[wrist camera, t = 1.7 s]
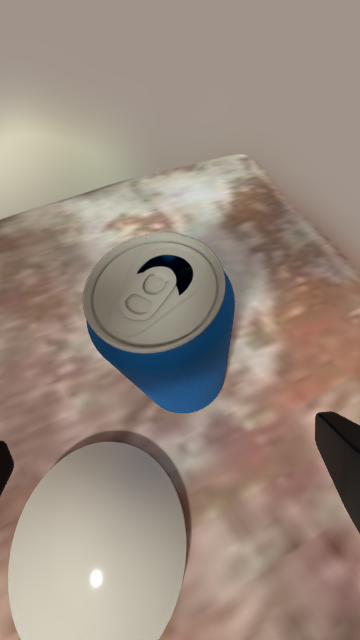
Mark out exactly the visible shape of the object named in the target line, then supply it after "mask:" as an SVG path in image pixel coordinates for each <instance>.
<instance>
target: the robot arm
mask: <svg viewBox="0 0 360 640" xmlns="http://www.w3.org/2000/svg"><path fill="white" fill-rule="evenodd" d="M315 441H316V445H317V447H318V450H319V452H320V454H321V456H322V458H323V461H324V463H325V465H326V467H327V469H328V472H329V474H330V476H331V478H332V480H333V482H334V485H335V487H336V489H337V491H338V493H339V496H340V498H341V500H342V502H343V504H344V506H345V508H346V510H347V512H348V514H349V516H350V517H351V519H352V521H353V523H354V525H355V526H356V528H357V530H358V532H359V533H360V425H358V424H356V423H354V422H352V421H350V420H348V419H346V418H345V417H343V416H341V415H339V414H337V413H335V412H331V411H330V412H319V413H317V414H316V417H315ZM13 468H14V461H13V459H12V456H11V454H10V451H9V449H8V446H7V444H6V443H5V442H4V441H0V496H1V494H2V492H3V490H4V488H5V486H6V484H7V481H8V479H9V477H10V475H11V473H12V471H13Z"/></svg>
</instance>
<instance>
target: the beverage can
mask: <svg viewBox="0 0 360 640" xmlns="http://www.w3.org/2000/svg"><path fill="white" fill-rule="evenodd" d="M234 308H235V300H234V292H233V289H232V285H231V283H230V281H229V278H228V276H227V275H226V273H225V272H224V270H223V267H222V265H221V263H220V261H219V259H218V258H217V256H216V255H215V253H214V252H213V251H212V250H211V249H210V248H209V247H207V246H206V245H205V244H203V243H202V242H200V241H199V240H197V239H194V238H192V237H189V236H186V235H183V234H178V233H170V232H159V233H150V234H145V235H141V236H138V237H135V238H132V239H129V240H127V241H125V242H123V243H121V244H120V245H118V246H116V247H115V248H113V249H112V250H111V251H109V252H108V253H107V254H106V255H105V256H103V257H102V258H101V259H100V261H99V262H98V263H97V264H96V265H95V267H94V268H93V269H92V271H91V273H90V275H89V276H88V279H87V281H86V284H85V287H84V291H83V309H84V314H85V317H86V319H87V327H88V332H89V335H90V337H91V340H92V342H93V344H94V345H95V347H96V349H97V350H98V351H99V352H100V354H101V355H102V356H103V357H104V358H105V359H106V360H108V361H109V362H110V363H111V364H112V365H113V366H114V367H116V368H117V369H118V370H119V371H120V372H121V373H122V374H124V375H125V376H126V377H127V378H128V379H129V380H130V381H131V382H133V383H134V384H135V385H136V386H137V387H138V388H139V389H141V390H142V391H143V392H144V393H145V394H146V395H147V396H149V397H150V398H151V399H152V400H153V401H154V402H155V403H157V404H158V405H159V406H160V407H162V408H164V409H166V410H168V411H171V412H175V413H191V412H195V411H198V410H200V409H203V408H204V407H206V406H208V405H209V404H210V403H211V402H212V401H213V400H214V399H215V398H216V397H217V396H218V394H219V393H220V391H221V389H222V386H223V383H224V379H225V373H226V366H227V359H228V352H229V345H230V338H231V331H232V324H233V317H234Z"/></svg>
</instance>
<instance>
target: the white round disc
mask: <svg viewBox="0 0 360 640" xmlns="http://www.w3.org/2000/svg"><path fill="white" fill-rule="evenodd" d="M186 553H187V532H186V524H185V517H184V513H183V509H182V504H181V501H180V499H179V496H178V493H177V490H176V488H175V486H174V484H173V482H172V480H171V479H170V477H169V476H168V474H167V473H166V471H165V470H164V469H163V467H162V466H161V465H160V464H159V463H158V462H157V461H156V460H155V459H154V458H153V457H152V456H151V455H149V454H148V453H146V452H145V451H143V450H141V449H139V448H137V447H135V446H132V445H129V444H125V443H119V442H99V443H94V444H90V445H87V446H84V447H82V448H80V449H77V450H75V451H73V452H72V453H70V454H69V455H67V456H66V457H64V458H63V459H62V460H60V461H59V462H58V463H57V464H55V465H54V466H53V467H52V468H51V469H50V470H49V471H48V472H47V474H46V475H45V476H44V477H43V478H42V480H41V481H40V482H39V483H38V485H37V487H36V488H35V490H34V491H33V493H32V494H31V496H30V498H29V500H28V501H27V503H26V505H25V507H24V510H23V512H22V514H21V517H20V519H19V522H18V525H17V528H16V531H15V534H14V538H13V542H12V547H11V553H10V560H9V572H8V588H9V600H10V607H11V613H12V616H13V620H14V623H15V627H16V629H17V632H18V634H19V637H20V639H21V640H158V639H159V638H160V636H161V635H162V633H163V631H164V629H165V628H166V626H167V624H168V622H169V620H170V618H171V616H172V613H173V611H174V608H175V605H176V603H177V600H178V596H179V593H180V589H181V586H182V582H183V577H184V571H185V565H186Z"/></svg>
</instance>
